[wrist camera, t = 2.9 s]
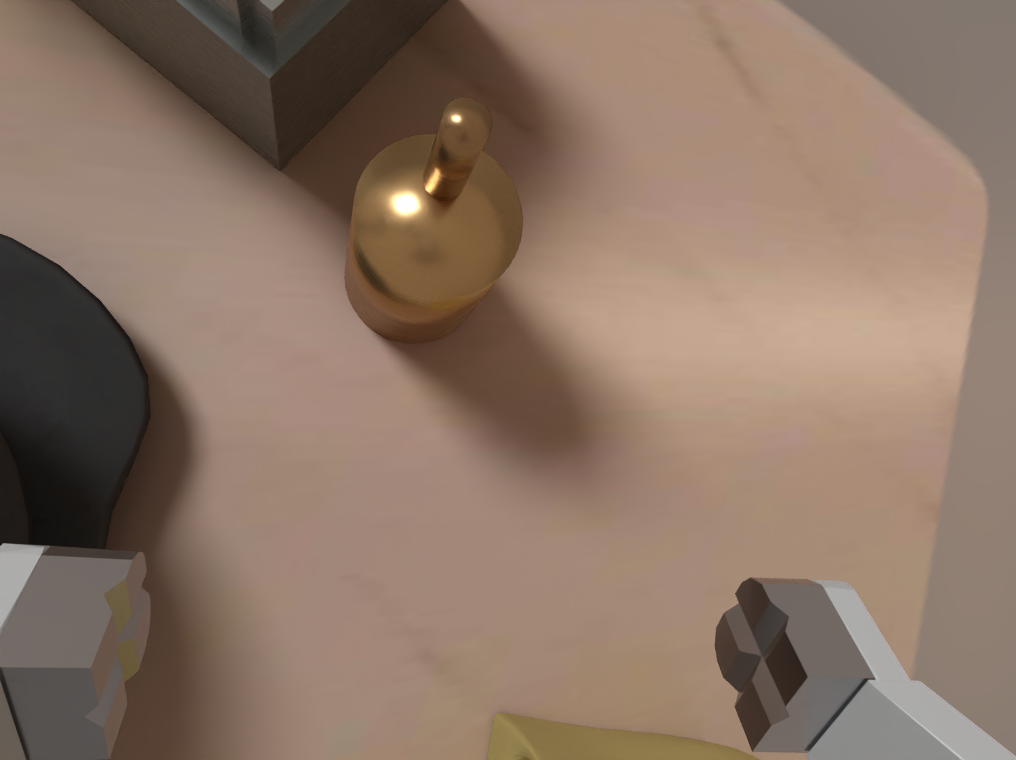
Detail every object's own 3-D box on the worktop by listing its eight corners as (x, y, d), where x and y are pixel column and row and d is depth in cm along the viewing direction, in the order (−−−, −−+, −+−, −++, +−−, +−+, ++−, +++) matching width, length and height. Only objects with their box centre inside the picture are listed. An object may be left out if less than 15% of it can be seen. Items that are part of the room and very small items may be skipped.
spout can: (470, 350, 31) (554, 273, 20) (337, 334, 30) (349, 241, 19) (480, 227, 32) (566, 88, 21) (352, 206, 31) (372, 46, 20)
